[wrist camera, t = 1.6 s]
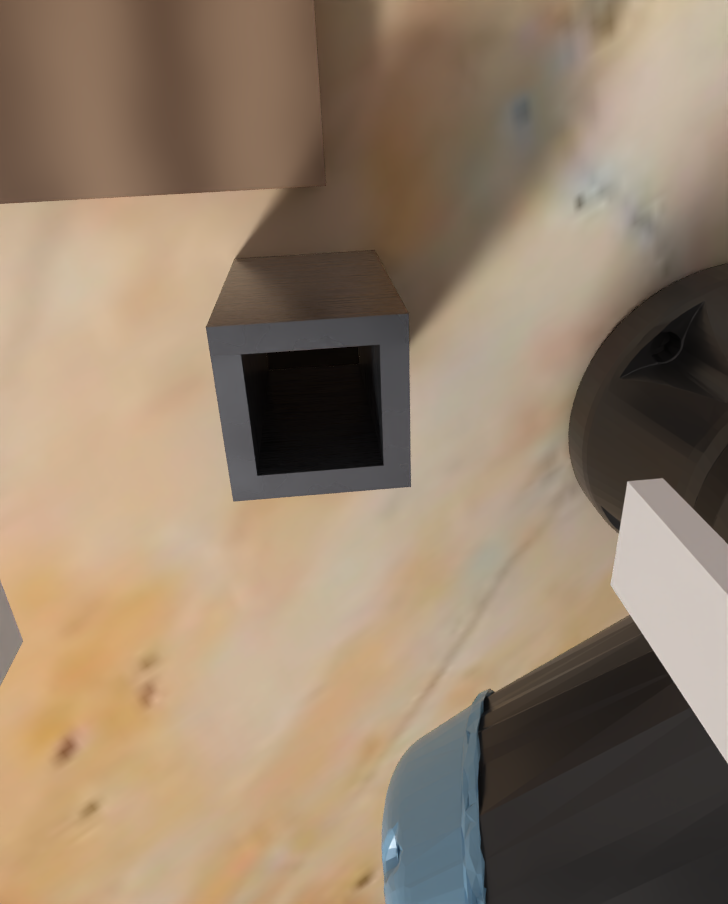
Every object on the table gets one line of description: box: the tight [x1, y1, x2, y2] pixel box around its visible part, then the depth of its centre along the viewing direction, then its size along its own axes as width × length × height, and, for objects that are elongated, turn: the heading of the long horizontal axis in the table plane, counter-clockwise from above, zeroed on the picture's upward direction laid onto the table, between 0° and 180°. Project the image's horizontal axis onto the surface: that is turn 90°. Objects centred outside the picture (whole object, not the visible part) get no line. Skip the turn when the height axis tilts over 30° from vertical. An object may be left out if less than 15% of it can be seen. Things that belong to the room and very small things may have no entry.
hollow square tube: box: [206, 250, 411, 501], centre depth 26 cm, size 6×6×10 cm
